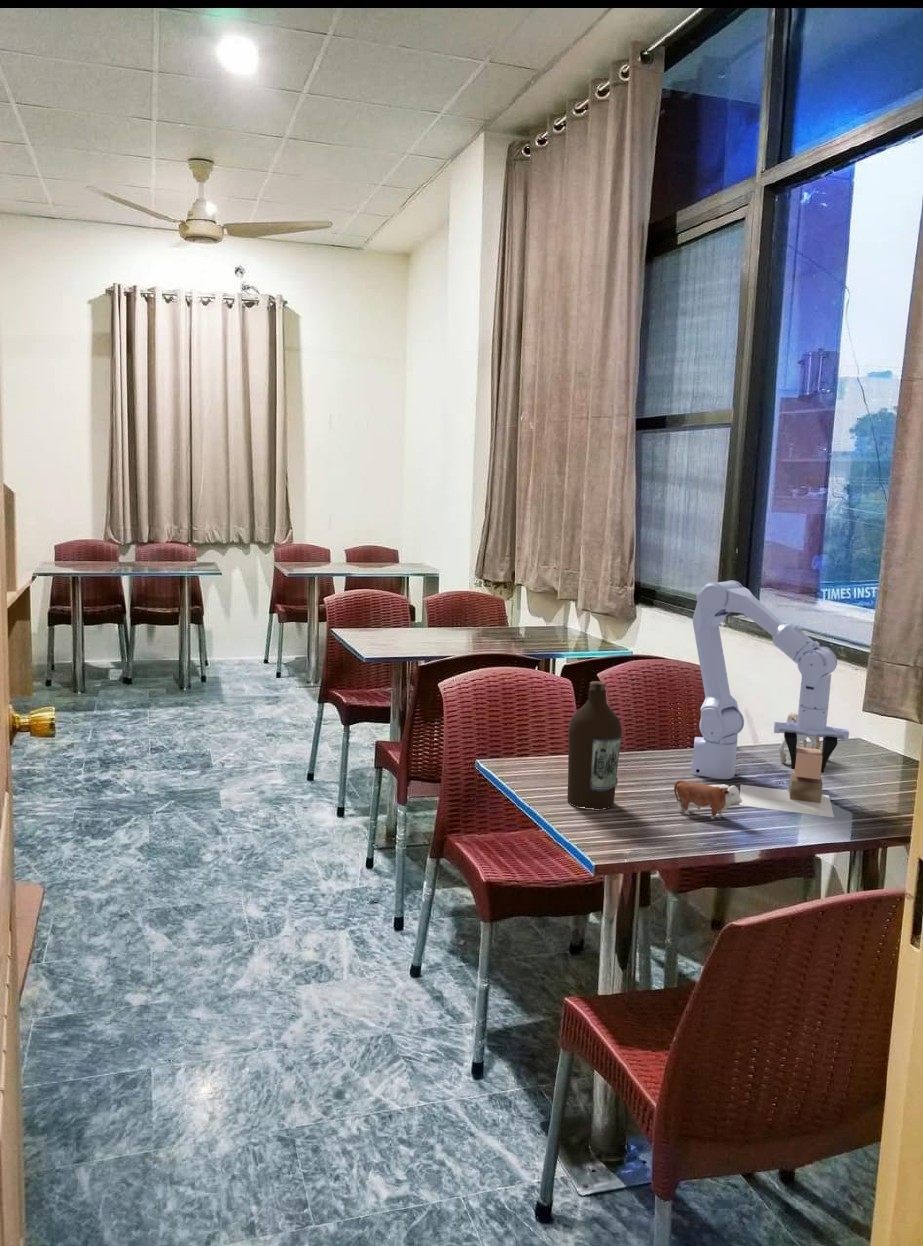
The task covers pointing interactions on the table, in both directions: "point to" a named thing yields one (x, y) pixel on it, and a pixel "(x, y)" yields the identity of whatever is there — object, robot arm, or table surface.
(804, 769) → the terracotta block
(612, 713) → the brown bottle
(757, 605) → the robot arm
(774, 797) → the base plate
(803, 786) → the walnut block
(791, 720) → the unicorn figurine
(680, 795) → the bull figurine
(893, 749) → the table surface
